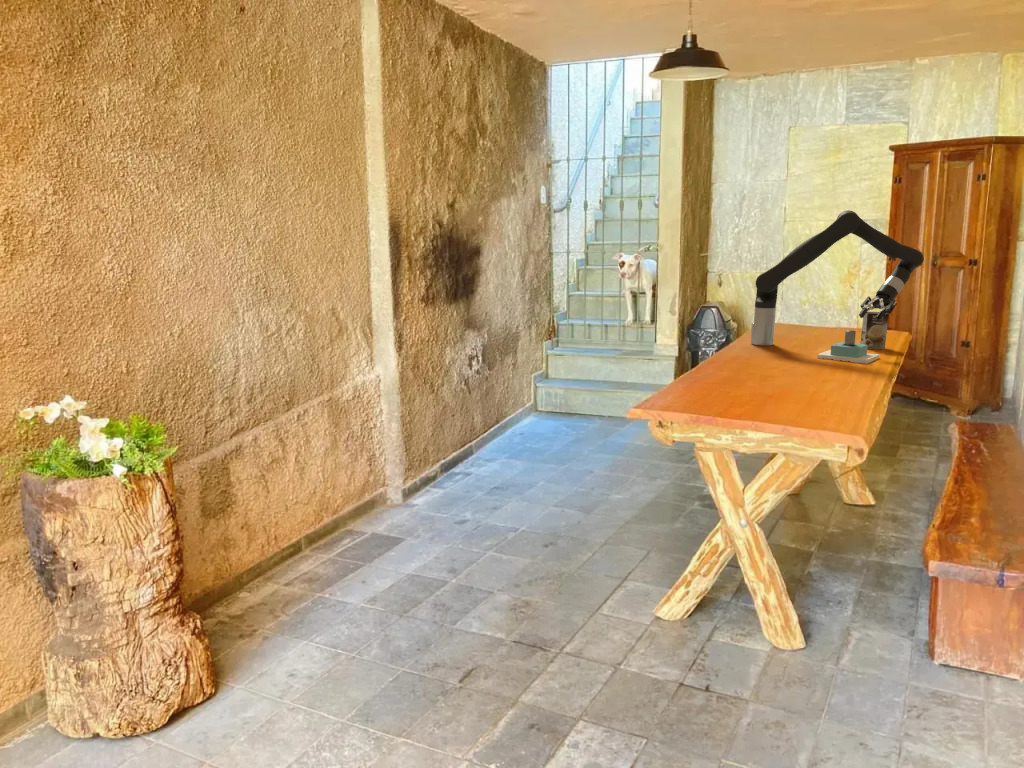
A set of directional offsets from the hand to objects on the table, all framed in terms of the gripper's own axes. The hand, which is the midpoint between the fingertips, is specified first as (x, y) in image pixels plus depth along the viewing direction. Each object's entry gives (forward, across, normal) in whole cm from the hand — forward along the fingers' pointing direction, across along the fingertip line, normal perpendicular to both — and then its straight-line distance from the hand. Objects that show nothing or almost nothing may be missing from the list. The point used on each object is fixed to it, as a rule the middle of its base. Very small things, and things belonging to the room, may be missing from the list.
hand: (868, 317), depth 339 cm
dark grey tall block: (+18, 0, +3) cm, 18 cm away
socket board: (+19, 0, +4) cm, 19 cm away
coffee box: (-2, -13, +25) cm, 28 cm away
